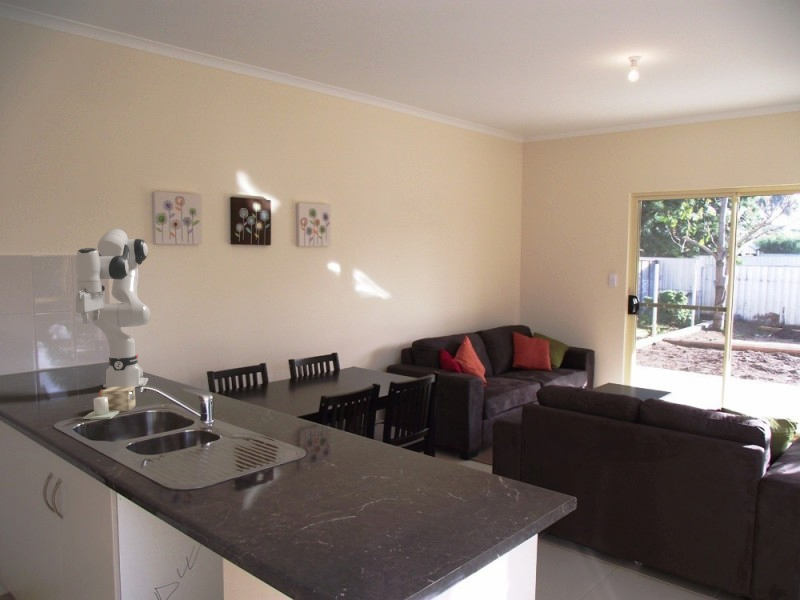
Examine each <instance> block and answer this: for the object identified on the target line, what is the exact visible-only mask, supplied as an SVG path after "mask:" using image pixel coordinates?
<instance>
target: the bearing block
mask: <svg viewBox="0 0 800 600" xmlns="http://www.w3.org/2000/svg"><path fill="white" fill-rule="evenodd" d="M135 388H136V387H135V386H124V387H108V388H106V387H105V389H102V390H103V391H101V393H102V397H108V407H109V410H120V412H130V411H131V410H133V409H134V408H135V407H136V389H135ZM130 392H132V393H133V399H132V400H130ZM129 410H130V411H129Z"/></svg>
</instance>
